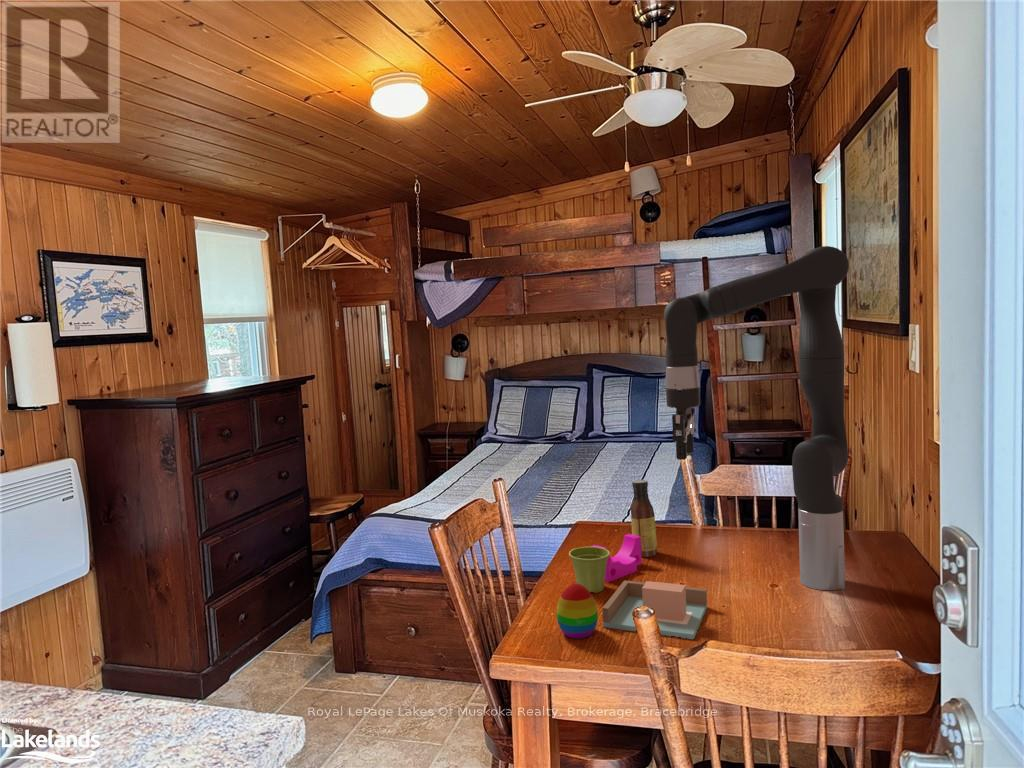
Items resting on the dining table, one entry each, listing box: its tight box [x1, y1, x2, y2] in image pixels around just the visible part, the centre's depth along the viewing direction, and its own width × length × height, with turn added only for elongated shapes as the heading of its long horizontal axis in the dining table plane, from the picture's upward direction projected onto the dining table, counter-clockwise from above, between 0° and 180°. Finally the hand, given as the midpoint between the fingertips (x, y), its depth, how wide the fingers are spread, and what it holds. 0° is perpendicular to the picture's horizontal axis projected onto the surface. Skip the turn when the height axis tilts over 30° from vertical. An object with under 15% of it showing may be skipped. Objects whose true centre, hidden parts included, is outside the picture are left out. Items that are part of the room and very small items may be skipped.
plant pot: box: [568, 546, 610, 594], centre depth 158 cm, size 9×9×9 cm
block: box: [642, 580, 687, 621], centre depth 139 cm, size 4×8×6 cm, turn 65°
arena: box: [601, 579, 708, 640], centre depth 141 cm, size 18×16×4 cm
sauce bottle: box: [630, 479, 658, 558], centre depth 180 cm, size 6×6×20 cm
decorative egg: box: [556, 582, 599, 640], centre depth 135 cm, size 8×8×10 cm
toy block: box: [589, 533, 643, 583], centre depth 169 cm, size 15×6×8 cm, turn 128°
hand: (685, 455), depth 157 cm, fingers open, 8 cm apart
